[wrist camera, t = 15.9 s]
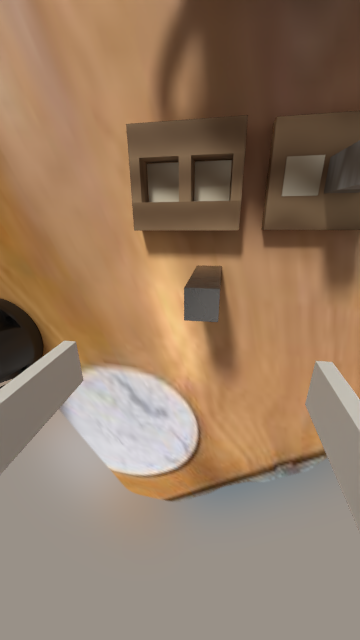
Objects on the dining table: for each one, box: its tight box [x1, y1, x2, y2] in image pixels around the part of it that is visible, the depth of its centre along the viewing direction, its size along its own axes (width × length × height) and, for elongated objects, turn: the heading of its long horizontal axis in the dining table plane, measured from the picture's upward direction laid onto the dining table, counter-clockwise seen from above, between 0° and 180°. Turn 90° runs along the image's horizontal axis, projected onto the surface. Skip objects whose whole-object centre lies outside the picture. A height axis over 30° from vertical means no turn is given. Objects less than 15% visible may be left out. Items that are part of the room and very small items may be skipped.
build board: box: [126, 115, 248, 230], centre depth 29 cm, size 11×13×3 cm
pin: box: [184, 266, 222, 322], centre depth 29 cm, size 3×3×12 cm
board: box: [262, 111, 360, 230], centre depth 24 cm, size 11×11×10 cm
